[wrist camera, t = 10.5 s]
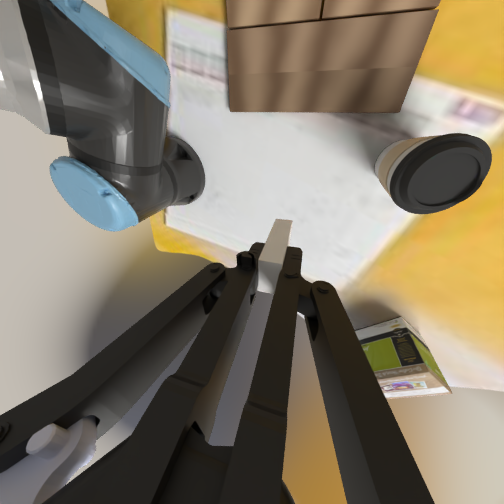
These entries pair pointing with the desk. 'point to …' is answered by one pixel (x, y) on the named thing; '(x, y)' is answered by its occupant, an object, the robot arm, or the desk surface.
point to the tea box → (401, 360)
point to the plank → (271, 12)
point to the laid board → (327, 64)
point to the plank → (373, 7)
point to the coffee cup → (433, 171)
